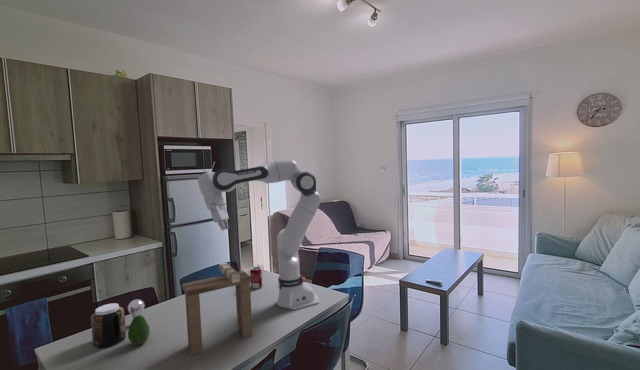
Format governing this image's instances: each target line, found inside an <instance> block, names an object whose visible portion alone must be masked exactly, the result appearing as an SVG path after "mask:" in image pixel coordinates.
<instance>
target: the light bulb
mask: <svg viewBox="0 0 640 370" xmlns="http://www.w3.org/2000/svg"><path fill="white" fill-rule="evenodd" d="M145 307H146V305H145V302H144V301H143V300H142V299H138V298H137V299H133V300H132V301H130V302H129V303H128V305H127V311H128V313H129V314H130V316H131V318H132V320H133V319H134V318H135V317H136V316H138V315H141V316H142V315H143V312H144V310H145Z"/></svg>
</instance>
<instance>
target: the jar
mask: <svg viewBox="0 0 640 370" xmlns="http://www.w3.org/2000/svg"><path fill="white" fill-rule="evenodd" d="M94 311H95V312H94V313H93V314H92V315H91V317H90V323H91V325H90V327H91V337H92V346H93V348H95V349H106V348H111V347H114V346H115V345H118V344H120V343H122V342H123V341H124V340H125V339H126V338H127V332H126V329H127V328H126V318H125V317H126V315H125V310H124V308H123V307H121V306H120V305H119V303H115V302H114V303H112V302H111V303H107V304H103V305H101V306H99V307H97V308H95V310H94Z"/></svg>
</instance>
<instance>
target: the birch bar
mask: <svg viewBox="0 0 640 370" xmlns="http://www.w3.org/2000/svg"><path fill="white" fill-rule="evenodd" d="M218 265H219V271H220V272H221V273H222V274H223V275H225V276H226V277H227V278H228V279H229V280H230V281H231V282H232V283H235V282H239V281H240V274H239V273H237V272H238V271H236V269H234V268H233V267H232V266H230V264H229V263H227V262H221V263H219V264H218Z"/></svg>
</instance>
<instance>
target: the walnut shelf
mask: <svg viewBox="0 0 640 370" xmlns="http://www.w3.org/2000/svg"><path fill="white" fill-rule="evenodd" d="M236 272H237V273H239V274H240V281H239V282H235V283H232V282H231V281H230V280H229V279H228V278H227V277H226V276H225V275H224V274H223V275H217V276H212V277H209V278H203V279H199V280H195V281H194V280H193V281H189V282H184V283H182V290H183V292H184V297H185V298H184V299H185V313H186V328H187V329H186V330H187V332H186V333H187V343H188V344H187V345H188V346H187V347H188V348H189V351H190V353H191V356H194V355H197V354H200V353H202V352H203V337H202V334H203V333H202V320H201V319H202V317H201V302H200V301H201V300H200V295H201V294H204V293H209V292H214V291H218V290H222V289H225V288H230V287H233V286H235V300H236V301H235V303H236V322H237V323H236V324H237V325H236V326H237V331H238V333H239V334H240V335H241V336H242V338H243V339H246V338H248V337H251V336H253V322H252V321H253V319H252V299H251V298H252V297H251V296H252V295H251V277H250V274H247V272H245V271H244V270H241V271H236Z"/></svg>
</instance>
